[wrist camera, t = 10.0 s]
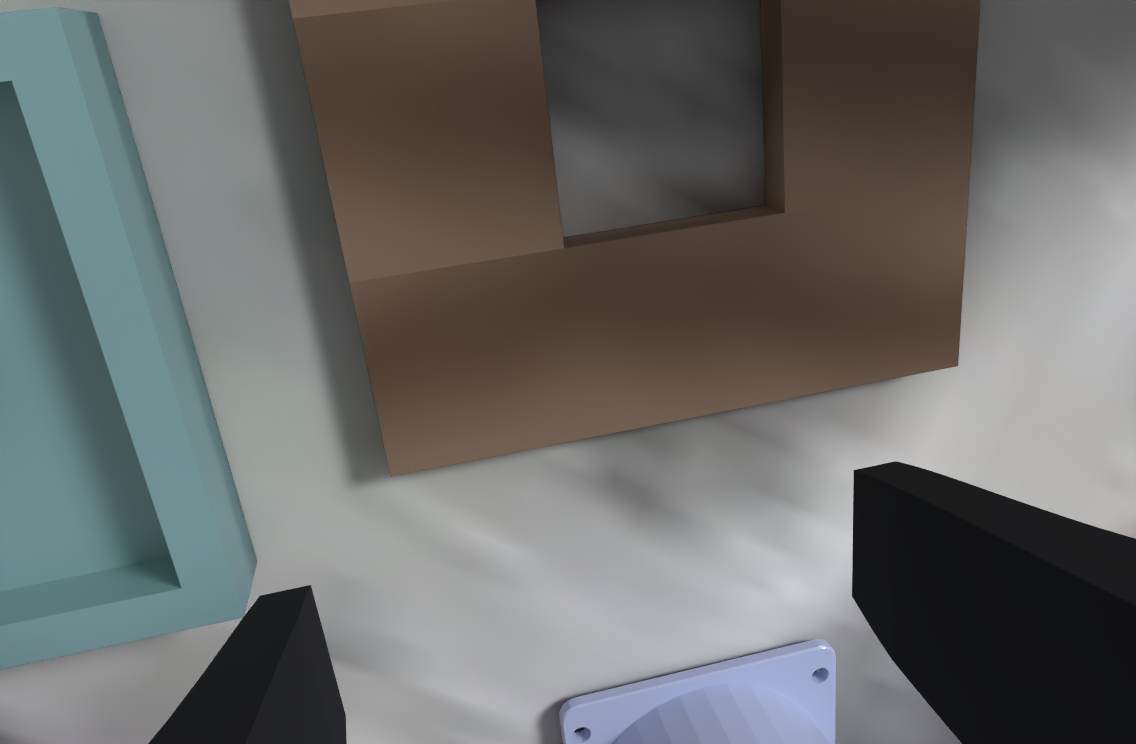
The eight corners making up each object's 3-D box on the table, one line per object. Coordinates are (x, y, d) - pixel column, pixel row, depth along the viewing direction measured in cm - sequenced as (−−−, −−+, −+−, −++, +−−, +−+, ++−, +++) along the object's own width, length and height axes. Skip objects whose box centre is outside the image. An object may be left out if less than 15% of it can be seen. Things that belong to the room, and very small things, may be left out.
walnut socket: (934, 353, 22) (957, 365, 21) (389, 457, 20) (390, 476, 19) (966, -306, 17) (1000, -326, 16) (237, -259, 15) (228, -279, 14)
